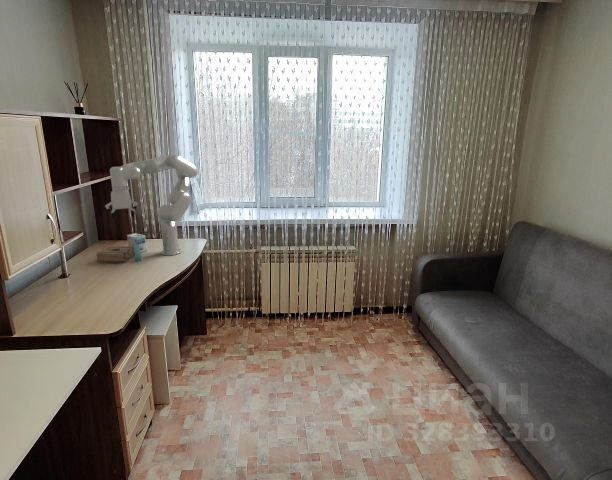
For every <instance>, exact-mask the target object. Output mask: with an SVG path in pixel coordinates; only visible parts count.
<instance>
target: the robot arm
mask: <svg viewBox="0 0 612 480" xmlns="http://www.w3.org/2000/svg"><path fill="white" fill-rule="evenodd" d="M171 169H172V170H173V169H174V170H175V173H176V177H177V181H176V184H175V185H174V187H173V189H172V190H171V192H170V194H169V195H168V198H167V199H168V200H167V201H168V202H169V204H162V205H161V206H160V207H158V209H157V215H158V219H159V223H160V231H161V232H160V233H161V239H162V249H163V250H161V251H160V254H161V255H163V256H175V255H179V254H181V253H182V249H181V248H180V247H179V246H180V243H179V239H178V235H179V234H178V226H177V222H180V220H182V218H183V217H184V215H185V214H186V212H187V210H188V209H189V207H190V206H191V203H192V197H191V195H190V194H189V193H188V192H189V190H190V188H191V179H193V178H195V177H196V176H197V175H198V168H197V167H196V166H195V165H194V163H191V162H190V161H188V160H187V159H185V158H184V157H182V156H180V155H179V154H177V155H176V154H166V155H161V156H158V157H157V156H156V157H154V158H150V159H149V158H148V159H144V160H140V161H134V162H130V163H125V164H123V165H121V166H111V167H110V169H109V175H110V182H111V190H112V191H110V200H111V201H110V202H109V203H107V204H105V206H104V207H105V208H106V210H107V211H108V212H110V213H111V218H112V219H113V220H116V214H115V211H116V210H125V209H130V217H131V218H132V219H133V218H134V217H135V210H136V209H137V206H138V205H139V202H137V201H134V200H132V198H131V196H130V192H129V190H130V186H128V185H127V180H135V179H136V180H137V179H138V178H140V176H141V175H143V174H144V175H145V174H156V173H161V172H163V171H168V170H171ZM128 189H129V190H128ZM132 204H134V206H133V207H132ZM110 206H111V207H112V208H110Z"/></svg>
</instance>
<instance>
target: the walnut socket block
mask: <svg viewBox="0 0 612 480" xmlns="http://www.w3.org/2000/svg"><path fill="white" fill-rule="evenodd" d="M95 254H96V262H97V264H125V263H127V262H128V261H129V260H131V259H132V258H135V253H134V246H128V245H109V246H108V247H105V248H104V249H102V250H100V251H98V252H96V253H95Z"/></svg>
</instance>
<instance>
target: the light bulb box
mask: <svg viewBox="0 0 612 480" xmlns="http://www.w3.org/2000/svg"><path fill="white" fill-rule="evenodd" d="M126 237H127V246H134V245H139V247H140V254H141V253H144V252H147V251H148V247H147V240H146V239H147V238H146V235H145V234H140V233H136V232H134V233H131V234H127V235H126Z"/></svg>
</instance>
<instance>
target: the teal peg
mask: <svg viewBox="0 0 612 480" xmlns="http://www.w3.org/2000/svg"><path fill="white" fill-rule="evenodd" d="M134 253H135V256H134V260H135V262H136V263H140V262H141V261H142V257H141V253H140V247H139V245H134Z"/></svg>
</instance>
